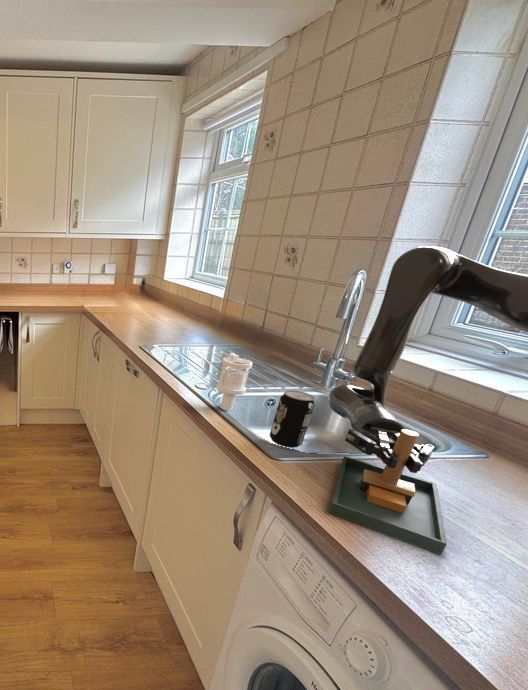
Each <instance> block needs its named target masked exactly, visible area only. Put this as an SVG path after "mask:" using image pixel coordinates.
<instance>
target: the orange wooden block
mask: <svg viewBox="0 0 528 690" xmlns="http://www.w3.org/2000/svg"><path fill="white" fill-rule="evenodd" d="M367 501H368V502H371V503H374V504H377V505H380V506H383V507H386V508H389V509H392V510H395V511H398V512H401V513H404V511H405V508H406V500H405V496H403V495H400V494H397V493H394V492H390V491H387V490H384V489H381V488H378V487H374V486H371V485H369V488H368V490H367Z"/></svg>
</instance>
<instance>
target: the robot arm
mask: <svg viewBox="0 0 528 690" xmlns="http://www.w3.org/2000/svg"><path fill="white" fill-rule="evenodd" d="M430 294H434V295H438V296H442V297H446V298H450V299H453V300H456V301H460V302H463V303H466V304H468V305H470V306H473V307H475V308H477V309H479V310H481V311H482V312H484V313H486V314H488V315H490V316H491V317H493V318H495V319H497V320H498V321H501V322H503V323H505V324H506V325H509V326H511V327H513V328H515V329H518V330H520V331H521V332H525V333H528V274H523V273H522V274H521V273H517V272H512V271H506V270H502V269H500V268H499V269H498V268H496V267H492V266H489V265H486V264H484V263H481V262H478V261H476V260H473V259H470V258H468V257H466V256H464V255H462V254H458V253H456V252H454V251H452V250H450V249H448V248H444V247H441V246H440V247H439V246H418V247H415V248H412V249H410V250H407V251H405V252H404V253H402V254H401V255H400V256H399V257H397V258H396V260H395V261H394V262H393V264H392V267H391V270H390V273H389V276H388V280H387V283H386V287H385V291H384V296H383V299H382V301H381V304H380V307H379V310H378V313H377V316H376V318H375V320H374V322H373V325H372V327H371V330H370V332H369V334H368V336H367V338H366V340H365V342H364V344H363V345H362V347H361V350H360V352H359V354H358V356H357V358H356V360H355V362H354V364H353V365H352V369H351V373H352V374H353V376H355V377H356V378H358V379H360V380H363V381H364V382H365V381H366V382H367V383H369V384H370V386H369V388H366V387H362V386H357V385H354V384H347V383H342V384H337V385H336V386H334V387H333V388H331V390H330V391H329V394H328V398H327V399H328V405H329V407H330V409H331V410H332V411H333V412H334V413H335V414H337V415H338V416H339V417H341V418H343V419H344V420H347V421H348V423H349V424H350V428H349V429H348V431H347V433H346V436H345V439H344V441H345V442H346V443H348V444H349V445H351V446H352V447H354V448H355V449H357V450H359V451H360V452H362V453H363V454H365V455H368V456H372V455H375V456H376V458H377V459H380V460H381V462H382V463H383V464H384V465H386V464H387V466H388V467H389V468H395V466H396V464H397V462H398V457H397V456H396V454H395V453H394V452H393V451H392V450H393V448H394V445H395V443H396V441H397V438H398V436H399V434H400V432H401V430H406V428H405V426H404V425H403V424H402V423H401V422H400V421H399V420H398V419H397V417H396V416H395V415H394V414H393V413H392V412H390V411H389V410H388V409H387V408H386V407H385V405H386V397H387V389H388V385H389V381H390V378H391V376H392V374H393V372H394V370H395V368H396V366H397V364H398V362H399V361H400V359H401V357H402V355H403V352H404V351H405V348H406V345H407V342H408V339H409V334H410V331H411V328H412V326H413V323H414V320H415V319H416V316H417V314H418V312H419V310H420V309H421V307H422V305H423V304H424V302H425V301H426V300H427V298H428V297H429V296H430ZM434 449H435V445H433V444H431V443H426V444H425V445H424V444H420V445H419V444H417V443H416V444H415V446H414V448H413V450H412V452H411V455H410V457H409V459H408V461H407V463H406V465H405V468H406V469H407V470H408V471H409V472H410V473H412V474H417V473H418V472H420V471H421V469H422V467H424V466H425V465H426V464H427V462H428V461H429V460H430V458H431V456H432V454H433V452H434Z"/></svg>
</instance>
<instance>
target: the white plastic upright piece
mask: <svg viewBox="0 0 528 690" xmlns="http://www.w3.org/2000/svg"><path fill="white" fill-rule="evenodd" d="M221 364H222V367H221V371H220V374H219V375H220V376H219V380H218V381H217V383H216V389H217V390H218V391H220V392H222V397H221V401H220V406H219V408H220V409H221V410H224V411H229V412H231V411H232V410H233V407H234V404H235V401H236V397H237V396H242V395H245V394H246V390H247V388H246V385H247V381H248V377H249V373H250V370H251V369H252V368H253V364H254V362H253V361H252V360H249V359H246V358H241V357H240V356H239V355H238V354H236V353H234V352H229V354H228V356H225V357H223V358H222V362H221ZM243 370H244V371H243Z"/></svg>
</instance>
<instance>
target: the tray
mask: <svg viewBox="0 0 528 690" xmlns="http://www.w3.org/2000/svg"><path fill="white" fill-rule="evenodd" d="M384 468H385V467H382V466H378V465H375V464H372V463H369V462H365V461H362V460H359V459H356V458H352V457H349V456H345V455H344V456H343V457H342V460H341V463H340V466H339V470H338V474H337V478H336V483H335V486H334V490H333V495H332V499H331V503H330V507H329V511H328V513H329V514H331V515H333V516H336V517H339V518H341V519H344V520H347V521H349V522H352V523H355V524H358V525H361V526H363V527H366V528H368V529H371V530H373V531H375V532H376V531H377V532H379V533H382V534H384V535H386V536H389V537H392V538H395V539H398V540H400V541H403V542H405V543H409V544H411V545H414V546H416V547H418V548H422V549H424V550H427V551H430V552H432V553H435V554H437V555H440V556H441V555H442V554H443V553H444V550H445V548H446V547H447V545H448V544H447V538H446V533H445V527H444V521H443V516H442V509H441V503H440V497H439V492H438V486H437V483H435V482H432V481H429V480H425V479H422V478H419V477H415V476H412V475H409V474H406V473H402V474H401V476H400V480H403V481H406V482H410V483H413V484H414V486H415V495H414V497H412V498H411V501H410V503H409V504H406V508H405V511H404V513H401V512H398V511H395V510H392V509H389V508H386V507H383V506H380V505H377V504H374V503H371V502H368V501H367V491H366V490H363V489H360V481H361V479H362V476H363V471H364V469H366V470H370V471H373V472H376V473H380V474H382V473H383V471H384Z"/></svg>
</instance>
